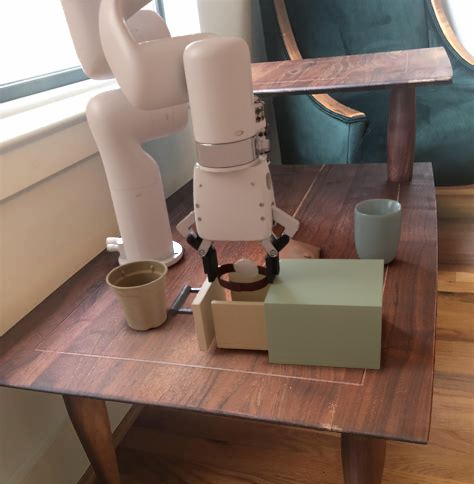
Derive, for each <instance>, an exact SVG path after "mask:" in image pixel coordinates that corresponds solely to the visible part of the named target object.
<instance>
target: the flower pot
mask: <svg viewBox="0 0 474 484" xmlns="http://www.w3.org/2000/svg"><path fill="white" fill-rule="evenodd" d="M168 268H169V267H167V266H166V264H165V263H163V262H161V261H157V260H138V261H133V262H129V263H126V264H123V265H120V264H119V265H118V266H116V267H114V268H113V269H111V271H110V272H108V274H107V275H106V277H105V282H106V284H107V285H108V286H109V288H111V290H112V292H113V293H114V294H115V296H116V298H117V301H118V303H119V305H120V307H121V308H120V309H121V310H122V312H123V315H124V317H125V320H126V322H127V325H128V326H129V328H131V329H132V330H134V331H148V330H149V329H152V328H159V327H160V326H161V325H163V324H164V323H165V322H166V321H167V318H168V316H167V315H168V312H167V301H166V281H167V274H168V271H169V269H168Z"/></svg>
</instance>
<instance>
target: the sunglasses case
mask: <svg viewBox="0 0 474 484" xmlns="http://www.w3.org/2000/svg"><path fill="white" fill-rule="evenodd" d="M321 251H322V250H321V247H319V246H316V245H311V244H309V243H305V242H301V241H298V240H294V239H292V238H291V239H290V241H289V243H288V244H287V245H286V246H285V247H284V248H283V249H282V250H281V251H280V252H279V262H280V259H321V257H320V255H321Z"/></svg>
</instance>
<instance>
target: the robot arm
mask: <svg viewBox="0 0 474 484" xmlns="http://www.w3.org/2000/svg"><path fill="white" fill-rule="evenodd" d="M151 2H153V0H60V5H61V7H62V10H63V14H64V17H65V20H66V23H67V27H68V31H69V34H70V37H71V40H72V44H73V47H74V50H75V53H76V56H77V59H78V62H79V65H80V67H81V69H82V71H83V73H84V74H85V75H86V76H87V77H88V78H89V79H91V80H94V81H105V80H106V81H107V80H113V79H115V81H116V83H117V85H118V86H115V87H111V88H106V89H103V90H100V91H98V92H96V93H95V94H93V95H92V96H91V97H90V98H89V100H88V101H87V103H86V106H85V117H86V121H87V124H88V127H89V129H90V132H91V134H92V138H93V139H94V142H95V145H96V147H97V149H98V152H99V155H100V158H101V162H102V164H103V169H104V172H105V176H106V181H107V184H108V188H109V191H110V192H109V193H110V196H111V200H112V204H113V209H114V213H115V216H116V221H117V226H118V230H119V234H120V237H107V238H106V240H105V245H106V251H107V252H111V253H112V252H118V253H119V256H118V259H117V260H118V264H119V266H120V265H123V264H126V263H129V262H133V261H138V260H157V261H161V262H163V263H165V264H166V266H167V268H169V267H171V266H173V265H175V264H176V263H178V262H179V261H180V260H181V259H182V257H183V255H184V250H183V247H182V245H181V244H180V243H178V242H176V241H174V239H173V234H172V229H171V224H170V223H171V222H170V219H169V218H170V217H169V213H168V207H167V202H166V197H165V191H164V185H163V181H162V180H163V179H162V176H161V171H160V167H159V165H158V163H157V161H156V160H155V159H154V157H152V156H151V155H150V154H149V153H148V152H147V151H145V150H144V149H143V148H142V144H145V143H147V142H149V141H153V140H158V139H160V138H161V139H162V138H166V137H170V136H173V135H176V134H179V133H181V132H182V131H183V130H184V129H185V128H186V127H187V125H188V122H189V109H190V116H191V122H192V130H193V137H194V142H195V150H196V155H197V161H196V162H195V164H194V166H193V177H192V179H193V180H192V183H193V185H192V187H193V190H192V191H193V192H192V193H193V194H192V196H193V197H192V198H193V210H192V211H191V212H190V213H189V214H187V215H186V216H185V217H184V218H183V219H181V220H180V221H179V223H177V225H176V227H175V229H176V231H177V232H178V233H179V234H180V235H181V236H182V238H184V239H185V240H186V243H187V244H188V245H189V246H190V247H191V248H193V249H194V250H195V251H197V255H198V256H199V257H201V260H202V267H203V273H204V275H207V277H208V282H209V283H213V282H214V281H215V279H216V277H217V276H216V270H217V268H218V265H219V261H218V253H217V249H216V247H214V246H213V244H214V242H259V244H260V245H261V246H262V247H263V249H264V250H265V251H266V255H265V258H264V262H265V268H266V275H267V283H269V284H273V282H274V279H275V276H276V275H279V273H280V263H279V252H280V251H281V250H282V249H283V248H284V247H285V246H286V245H287V244H288V243H289V241H290V239H292V238H293V237H294V236H295V234H296V233H297V231H298V230H299V228H300V221H299V220H298V219H296V218H295V217H293V216H291V215H290V214H289V213H287V212H286V211H284V210H283V209H280V208H279V207H277V205H276V198H275V191H274V185H273V180H272V174H271V171H270V167H269V165H268V163H267V160H266V158H265V157H264V156H259V155H260V153H262V152H264V151H269V150H271V140H270V139H267V140H263V139H260V136H259V133H258V132H257V129H256V117H255V106H254V95H255V94H254V84H253V72H252V61H251V52H250V48H249V47H250V46H249V45H248V43H247V41H246V40H245V39H243V37H239V36H230V35H229V36H220V35H218V34H216V33H213V32H197V33H196V32H195V33H190V34H186V35H178V36H177V35H176V36H172V35H171V33H170V30H169V27H168V25H167V23H166V22H165V20H164V19H163V17H162V16H161V15H160V14H159V13H158V12H156V11H155V10H153V9H148V8H145V7H146V6H147V5H149V4H150V3H151ZM144 8H145V9H144ZM188 103H189V106H188ZM194 224H195V228H196V231H194V229H193V228H192V225H194ZM277 224H279V225H280V226H282V227H283V228H284V230H283V232H282V233H281V234H280V235H279V236H278V237H277V236H276V234H275V233H274V231H273V228H274V227H276V226H277Z"/></svg>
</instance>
